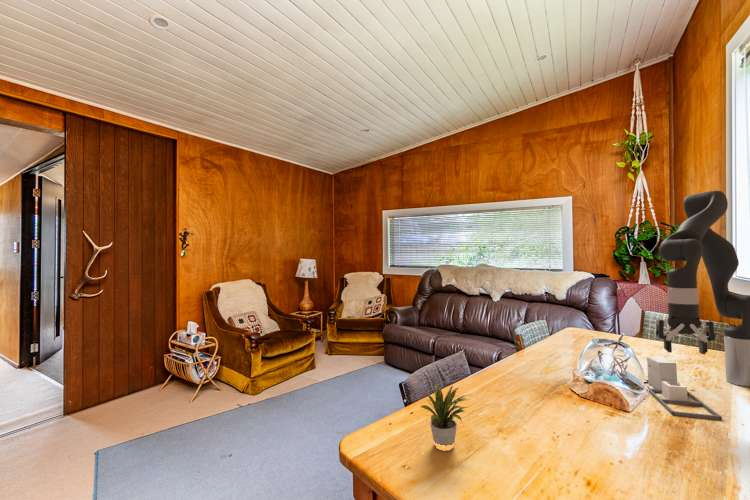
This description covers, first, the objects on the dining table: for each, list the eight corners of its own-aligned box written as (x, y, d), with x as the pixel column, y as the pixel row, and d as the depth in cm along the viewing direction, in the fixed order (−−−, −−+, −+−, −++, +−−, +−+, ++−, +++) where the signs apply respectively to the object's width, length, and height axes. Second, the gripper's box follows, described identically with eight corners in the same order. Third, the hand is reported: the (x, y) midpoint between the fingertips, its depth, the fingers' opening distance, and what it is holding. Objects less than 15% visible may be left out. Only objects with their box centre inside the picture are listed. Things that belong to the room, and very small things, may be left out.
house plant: (461, 470, 83) (458, 401, 84) (409, 455, 91) (407, 391, 91) (478, 443, 95) (475, 382, 96) (430, 431, 103) (428, 375, 103)
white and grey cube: (662, 395, 123) (661, 380, 123) (679, 396, 122) (678, 381, 122) (669, 401, 118) (669, 385, 119) (687, 402, 117) (686, 386, 117)
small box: (678, 392, 125) (676, 363, 125) (660, 392, 126) (659, 362, 126) (664, 384, 133) (663, 356, 133) (647, 384, 134) (646, 356, 134)
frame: (637, 381, 137) (637, 379, 137) (676, 384, 132) (675, 382, 132) (672, 414, 108) (671, 411, 108) (721, 420, 104) (721, 416, 104)
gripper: (704, 300, 113) (707, 351, 113) (651, 299, 118) (653, 348, 118) (718, 303, 106) (720, 357, 105) (660, 302, 111) (662, 354, 111)
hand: (685, 352), depth 112 cm, fingers open, 8 cm apart
